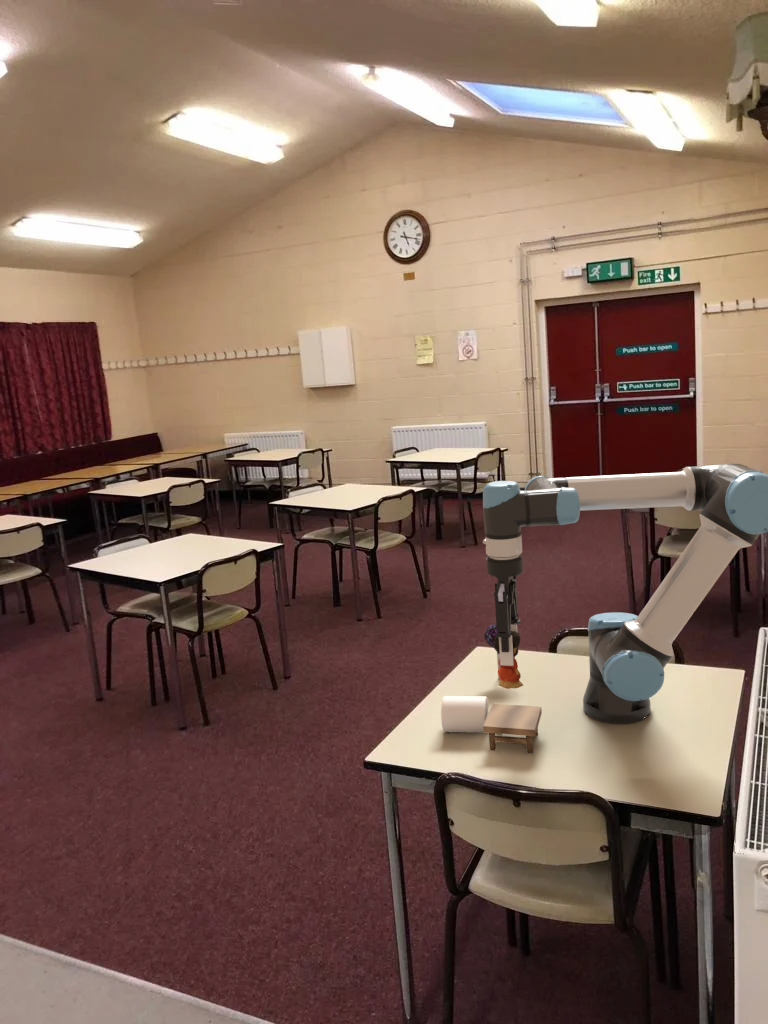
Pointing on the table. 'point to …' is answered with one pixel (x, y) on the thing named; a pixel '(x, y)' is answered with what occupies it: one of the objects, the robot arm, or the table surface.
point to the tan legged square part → (512, 724)
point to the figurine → (509, 673)
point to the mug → (464, 713)
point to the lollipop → (491, 638)
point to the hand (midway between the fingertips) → (509, 658)
